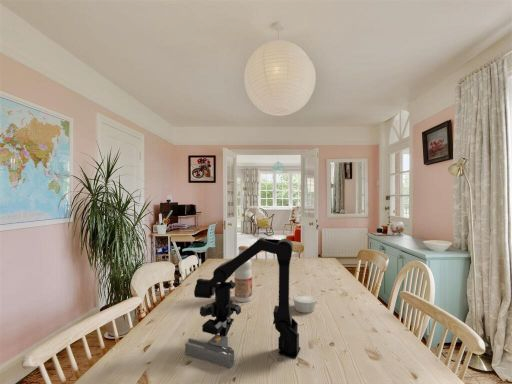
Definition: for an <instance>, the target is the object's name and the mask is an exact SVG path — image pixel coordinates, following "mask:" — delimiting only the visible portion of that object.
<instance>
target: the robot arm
mask: <svg viewBox="0 0 512 384" xmlns="http://www.w3.org/2000/svg"><path fill="white" fill-rule="evenodd" d="M247 247H248V246H247ZM293 248H294V245H293V242H292V241H291V240H290V239H288V238H282V239H276V238H274V239H273V238H265V237H259V238H258V239H257V240H256V241H255V242H254V243H252V244H251V245H250V246H249V247H248V248H247V249H246V250H244V251H243V252H242V253H240V254H239V253H238V255H236V256H235V257H234V258H231V259H229V260H227V261H225V262H222V263H221V264H220V265H218V266H217V267H216V268H215V269H214V270H213V273H212V275H213V276H212V277H211V279H206V278H205V279H204V278H198V279H197V280H196V283H195V286H194V289H193V294H194V297H195V298H200V299H211V298H212V297H214V301H213V302H210V303H207V304H205V305H204V306H203V305H202V306H201V307H199V315H200V316H201V317H203V318H205V317H208V316H211V318H209V319H207V320H206V321H205V322H204V323H203V324H202V325H201V326H202V327H201V329H202V333H206V334H211V335H213V336H215V335H221V336H225V337H228V336H227V335H228V333H229V331H230V329H231V326H232V324H233V322H234V320H235V319H234V318H232V317H231V316H232V315H233V314H234V313H235V314H236V315H237V316H238V315H239V314H240V315H241V313H242V307H241V306H240V304H235V303H233V302H234V301H233V300H232V299H231V289H232V290H233V289H235V286H236V284H235V281H233V280H232V279H230V280H229V278H231V276H232V275H233V274H235V271H236V270H237V268H239V267H240V266H241V265H243V264H244V263H245V262H247V261H248V260H249V259H250V260H252V258H254V257H255V256H256V255H257V254H259V253H260V252H262V251H264V252H267V253H270V254H273V255H276V259H277V263H278V305H275V306H274V308H273V313H272V314H273V323H272V324H273V325H274V329H275V330H276V331H277V332H278V333H279V336H278V346H277V347H278V355H281V356H285V357H288V358H292V359H297V357H298V356H299V352H300V351H301V347H300V333H298V330H299V329H298V326H299V324H298V322H297V321H296V320H295V319H294V318H293V314H292V308H291V304H290V264H291V258H292V254H293ZM227 280H229V281H227ZM212 318H215V319H212Z"/></svg>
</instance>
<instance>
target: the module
mask: <svg viewBox="0 0 512 384" xmlns="http://www.w3.org/2000/svg"><path fill="white" fill-rule="evenodd" d="M228 338H229V337H228V336H226V337H225V336H221V335H220V334H217V335H213V336H212V337H211V338H210V339H209V340H208V341H207V343H210V344H214V345H218V346H221V347H225V348H227V347H229V339H228Z"/></svg>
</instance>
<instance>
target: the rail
mask: <svg viewBox="0 0 512 384" xmlns="http://www.w3.org/2000/svg"><path fill="white" fill-rule="evenodd" d="M207 342H208V341H207V340H204V339H203V340H202V341H201V340H198V339H193V338H190V337H189V338H188V339H187V342H185V343H184V345H185V346H184V347H185V349H184V355H185V356H188V357H190V358H194V359H198V360H200V361H201V360H202V361H205V362H208V363H211V364H215V365H218V366H222V367H225V368H227V369H231V368H232V367H233V366H234V365H235V349H233V347H230V346H228V347H227V348H225V347H221V346H218V345H214V344H210V343H207Z"/></svg>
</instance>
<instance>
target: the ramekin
mask: <svg viewBox="0 0 512 384" xmlns="http://www.w3.org/2000/svg"><path fill="white" fill-rule="evenodd" d="M292 299H293V305H294V309H295V310H296V311H298V312H300V313H305V314H309V313H313V312H314V311H315V309H316V303H317V298H316V297H315V296H313V295H310V294H296V295H294V296H293V298H292Z"/></svg>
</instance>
